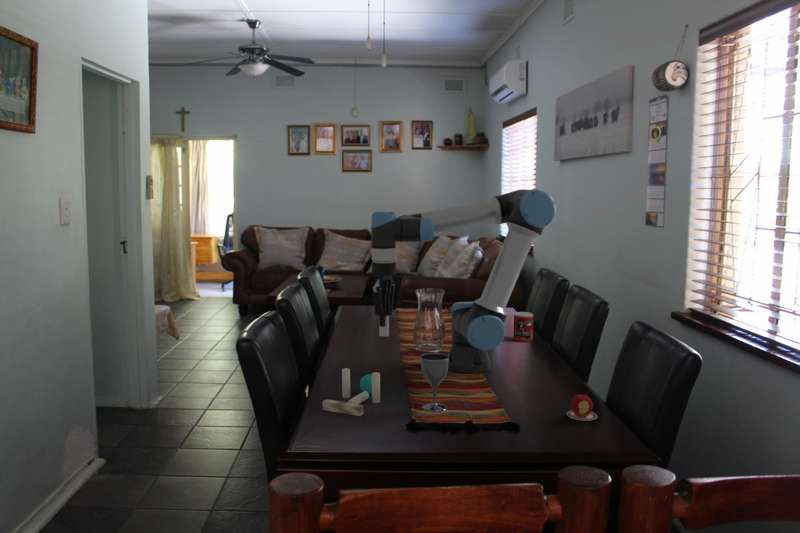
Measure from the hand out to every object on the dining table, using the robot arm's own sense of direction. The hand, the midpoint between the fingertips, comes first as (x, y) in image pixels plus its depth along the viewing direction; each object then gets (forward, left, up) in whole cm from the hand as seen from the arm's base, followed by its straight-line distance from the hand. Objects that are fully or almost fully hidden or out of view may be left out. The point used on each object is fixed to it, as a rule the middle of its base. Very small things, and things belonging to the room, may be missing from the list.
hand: (384, 335), depth 205 cm
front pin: (-1, +14, -15) cm, 21 cm away
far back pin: (+5, +16, -16) cm, 23 cm away
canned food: (-24, -77, -16) cm, 82 cm away
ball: (0, +10, -13) cm, 16 cm away
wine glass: (-22, +13, -16) cm, 31 cm away
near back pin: (-5, +16, -16) cm, 23 cm away
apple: (-62, +3, -16) cm, 64 cm away
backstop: (0, +27, -16) cm, 31 cm away
